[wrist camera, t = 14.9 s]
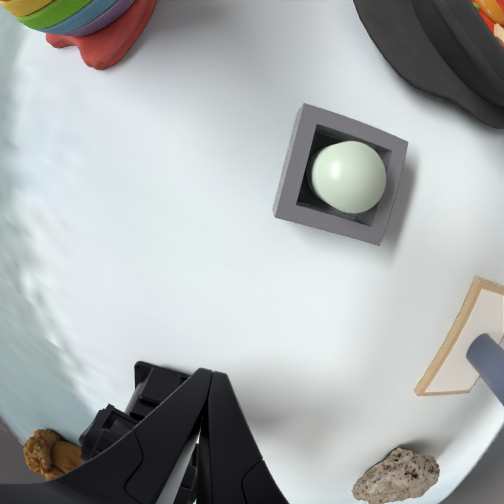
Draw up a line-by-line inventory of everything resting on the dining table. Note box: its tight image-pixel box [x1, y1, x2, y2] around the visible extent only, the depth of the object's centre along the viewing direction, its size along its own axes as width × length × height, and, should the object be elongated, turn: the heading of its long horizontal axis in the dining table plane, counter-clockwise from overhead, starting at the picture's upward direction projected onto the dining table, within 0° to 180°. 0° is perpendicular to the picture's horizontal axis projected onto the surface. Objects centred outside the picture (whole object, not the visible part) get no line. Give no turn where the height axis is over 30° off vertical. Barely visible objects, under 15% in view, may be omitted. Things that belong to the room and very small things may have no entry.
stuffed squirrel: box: [24, 429, 84, 481], centre depth 26 cm, size 10×14×13 cm
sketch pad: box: [414, 277, 504, 396], centre depth 22 cm, size 14×10×1 cm
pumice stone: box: [352, 447, 440, 504], centre depth 26 cm, size 14×12×8 cm
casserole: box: [353, 0, 504, 129], centre depth 10 cm, size 25×19×8 cm
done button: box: [307, 141, 386, 213], centre depth 16 cm, size 4×4×4 cm
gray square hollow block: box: [273, 103, 408, 246], centre depth 17 cm, size 7×7×3 cm
